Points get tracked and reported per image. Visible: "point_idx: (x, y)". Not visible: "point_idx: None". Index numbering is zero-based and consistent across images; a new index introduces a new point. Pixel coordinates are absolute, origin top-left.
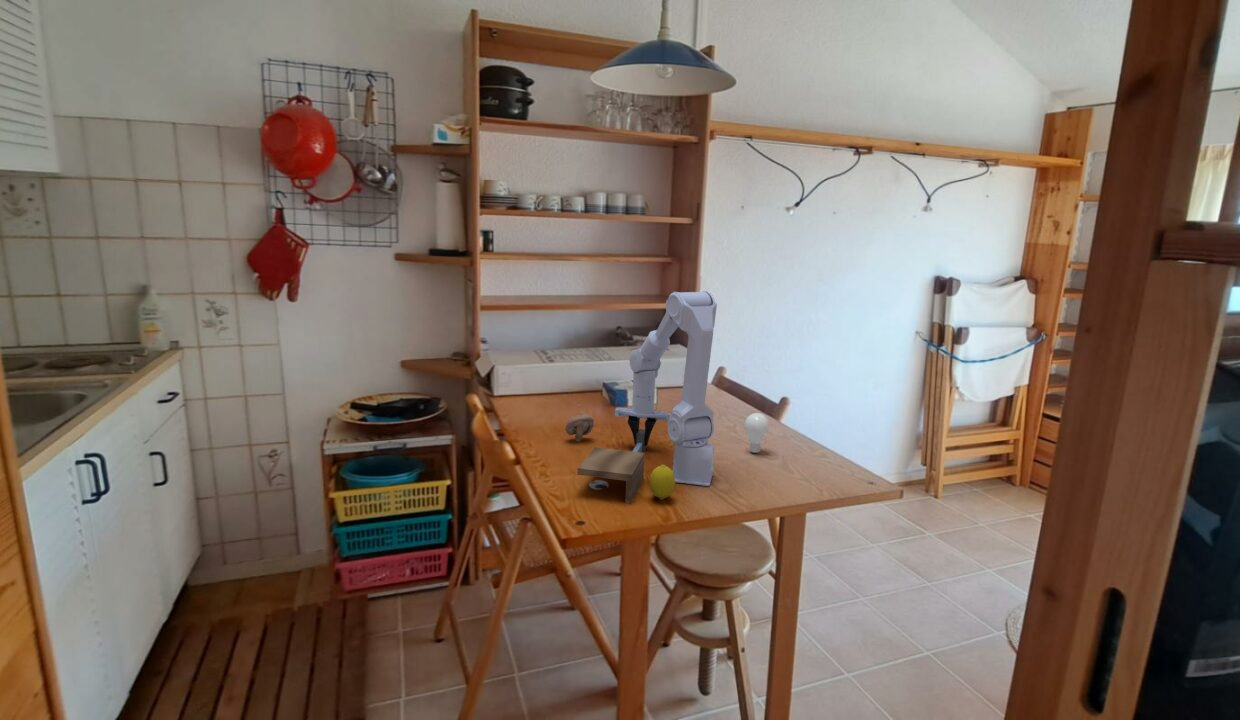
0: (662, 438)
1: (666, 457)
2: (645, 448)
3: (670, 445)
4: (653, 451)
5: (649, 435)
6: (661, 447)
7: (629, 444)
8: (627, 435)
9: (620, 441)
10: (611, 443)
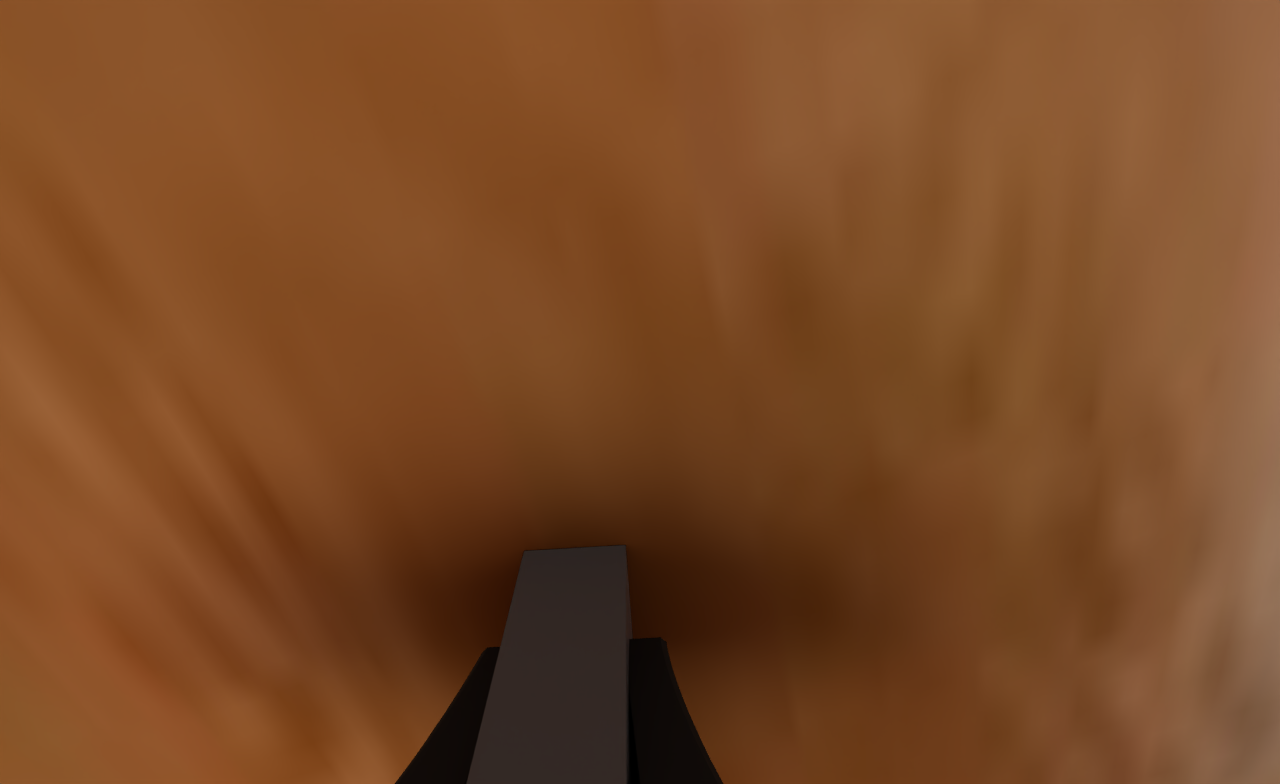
0: (792, 18)
1: (919, 738)
2: (628, 594)
3: (956, 345)
4: (747, 634)
5: (689, 745)
6: (828, 472)
7: (370, 519)
8: (118, 108)
9: (192, 452)
10: (131, 568)
